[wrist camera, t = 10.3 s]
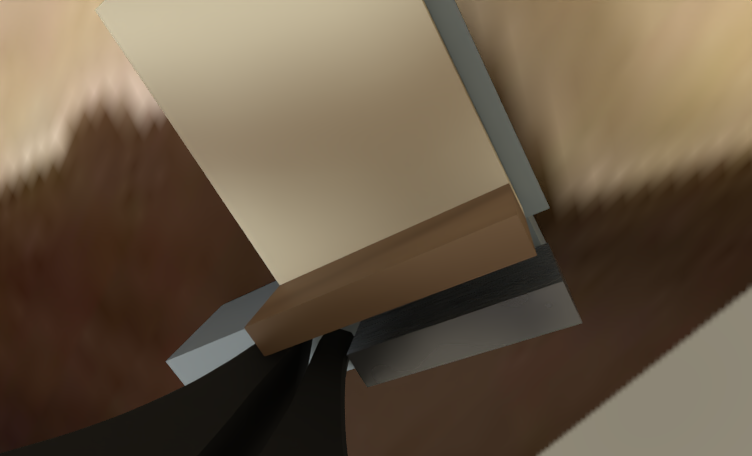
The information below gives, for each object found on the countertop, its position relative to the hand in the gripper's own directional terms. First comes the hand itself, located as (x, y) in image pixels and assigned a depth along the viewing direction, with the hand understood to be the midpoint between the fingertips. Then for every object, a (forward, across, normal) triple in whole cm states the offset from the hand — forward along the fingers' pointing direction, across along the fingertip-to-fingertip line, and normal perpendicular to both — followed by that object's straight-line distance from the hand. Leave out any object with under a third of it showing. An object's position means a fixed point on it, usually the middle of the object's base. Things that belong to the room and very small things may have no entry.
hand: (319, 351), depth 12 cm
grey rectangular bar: (0, -3, -3) cm, 4 cm away
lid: (0, +1, -7) cm, 7 cm away
